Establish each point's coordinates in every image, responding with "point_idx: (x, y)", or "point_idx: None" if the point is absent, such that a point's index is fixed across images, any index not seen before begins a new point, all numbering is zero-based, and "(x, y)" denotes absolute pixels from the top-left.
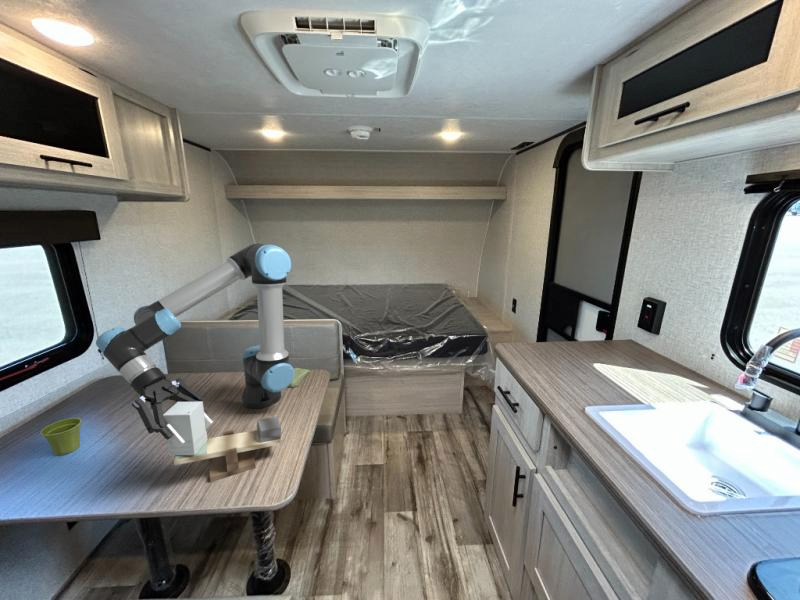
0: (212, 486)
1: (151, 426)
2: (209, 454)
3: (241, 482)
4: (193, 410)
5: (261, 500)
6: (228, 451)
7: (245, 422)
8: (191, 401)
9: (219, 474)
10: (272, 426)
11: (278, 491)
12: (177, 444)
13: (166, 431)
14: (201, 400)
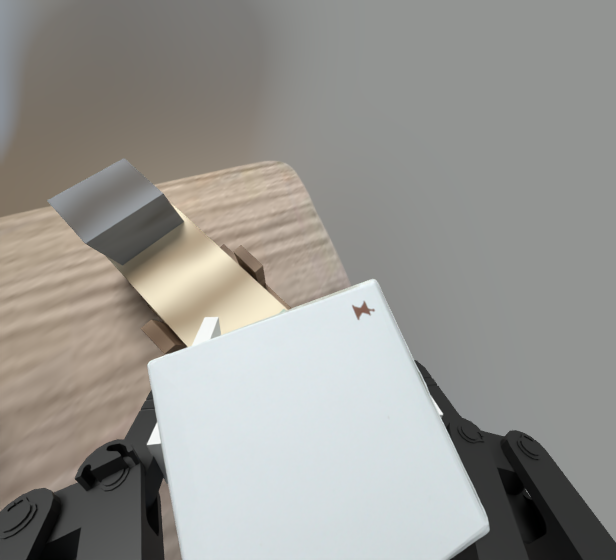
0: (298, 297)
1: (555, 466)
2: (281, 304)
3: (272, 249)
4: (321, 299)
5: (298, 193)
6: (255, 259)
7: (5, 429)
8: (131, 550)
9: (276, 295)
10: (124, 180)
11: (272, 178)
12: None
13: (433, 392)
14: (53, 493)
